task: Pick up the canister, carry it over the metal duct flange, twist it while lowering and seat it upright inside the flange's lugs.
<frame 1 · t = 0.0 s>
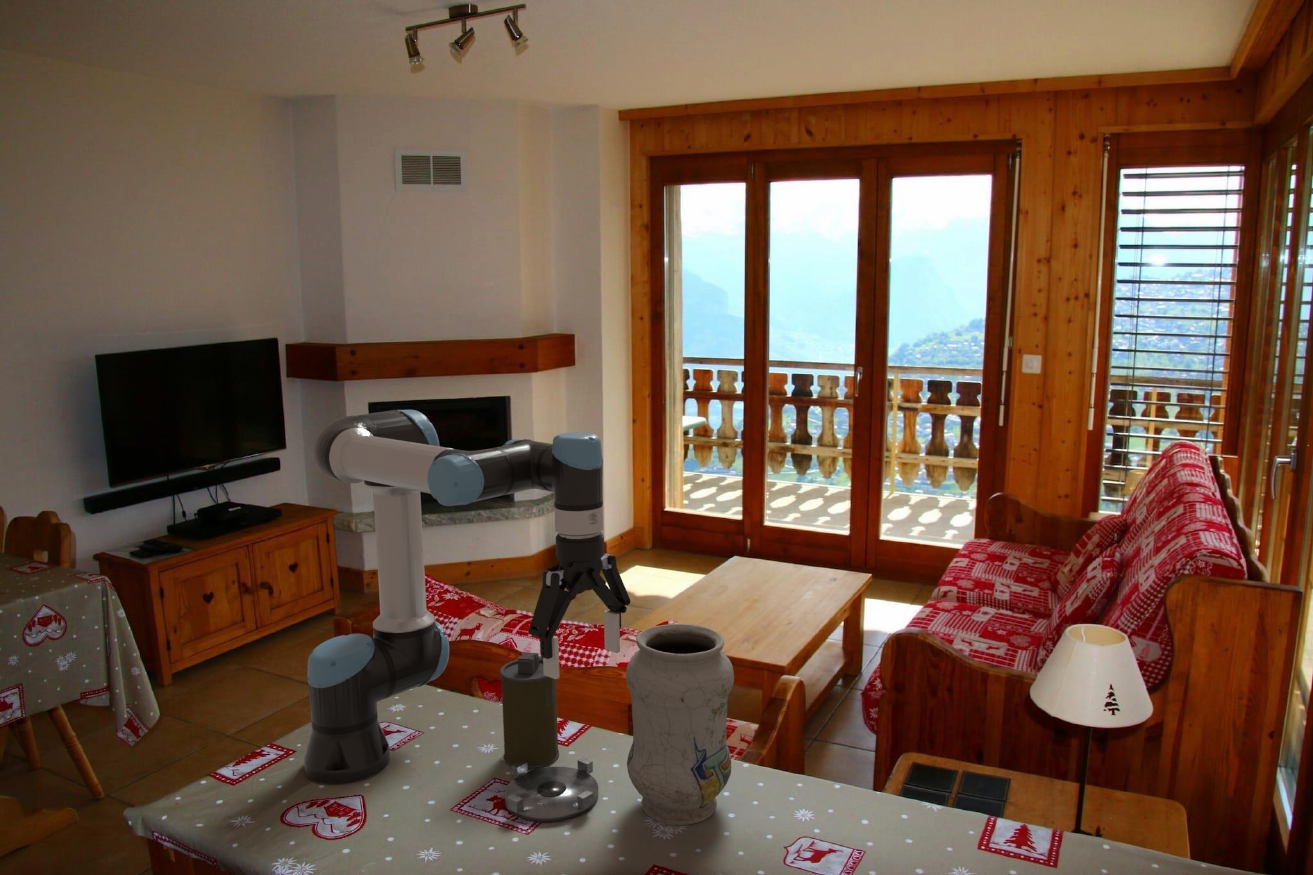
hand: (583, 663, 152), 28 cm above the table, fingers open, 13 cm apart
canister: (531, 756, 180), on the table
duct flange: (551, 797, 165), on the table
vase: (681, 807, 162), on the table
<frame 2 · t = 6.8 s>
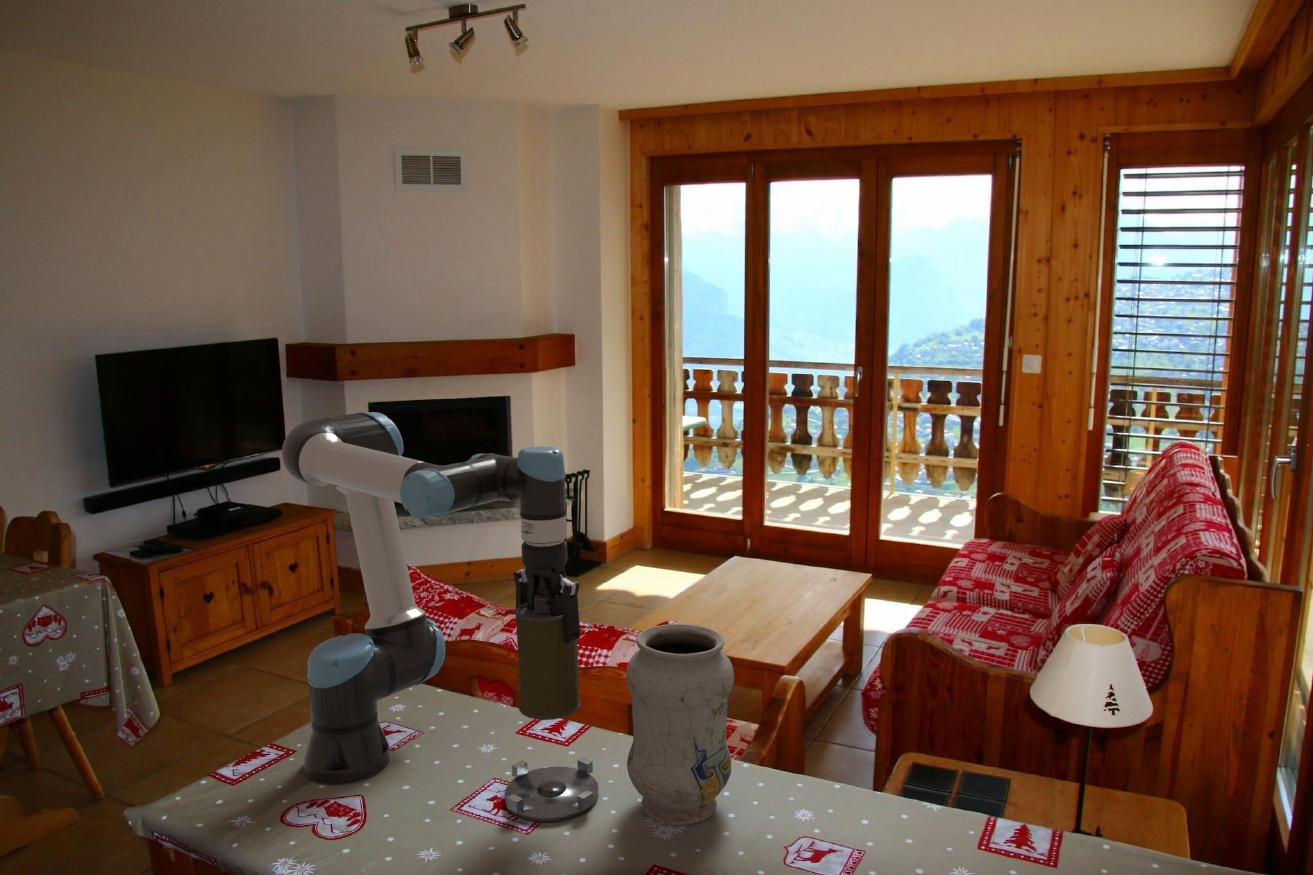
hand: (548, 673, 161), 23 cm above the table, fingers open, 6 cm apart
canister: (550, 707, 162), point 16 cm above the table, touching hand
everything else where it was.
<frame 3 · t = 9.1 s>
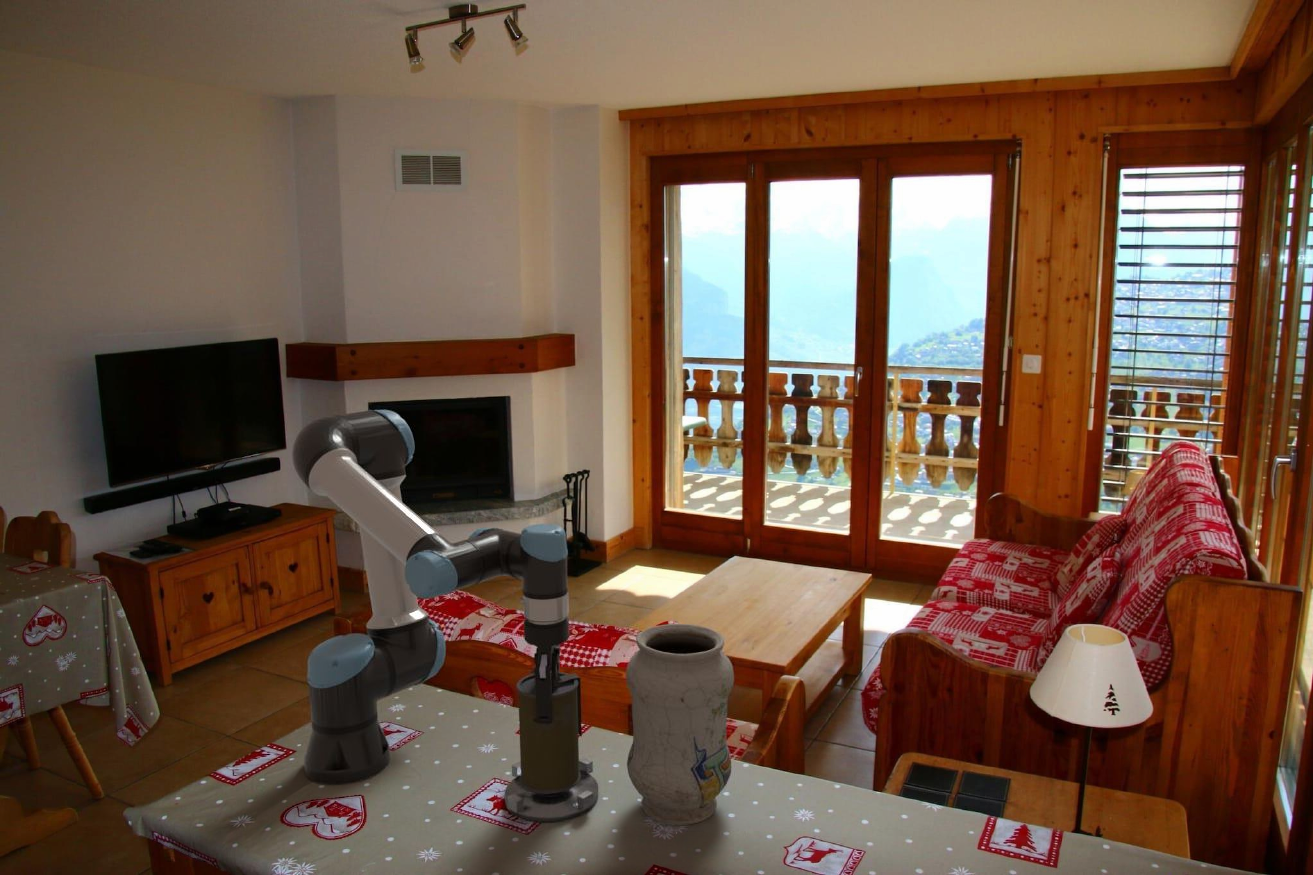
hand: (550, 746, 164), 9 cm above the table, fingers open, 6 cm apart
canister: (551, 779, 165), point 3 cm above the table, touching hand
everything else where it was.
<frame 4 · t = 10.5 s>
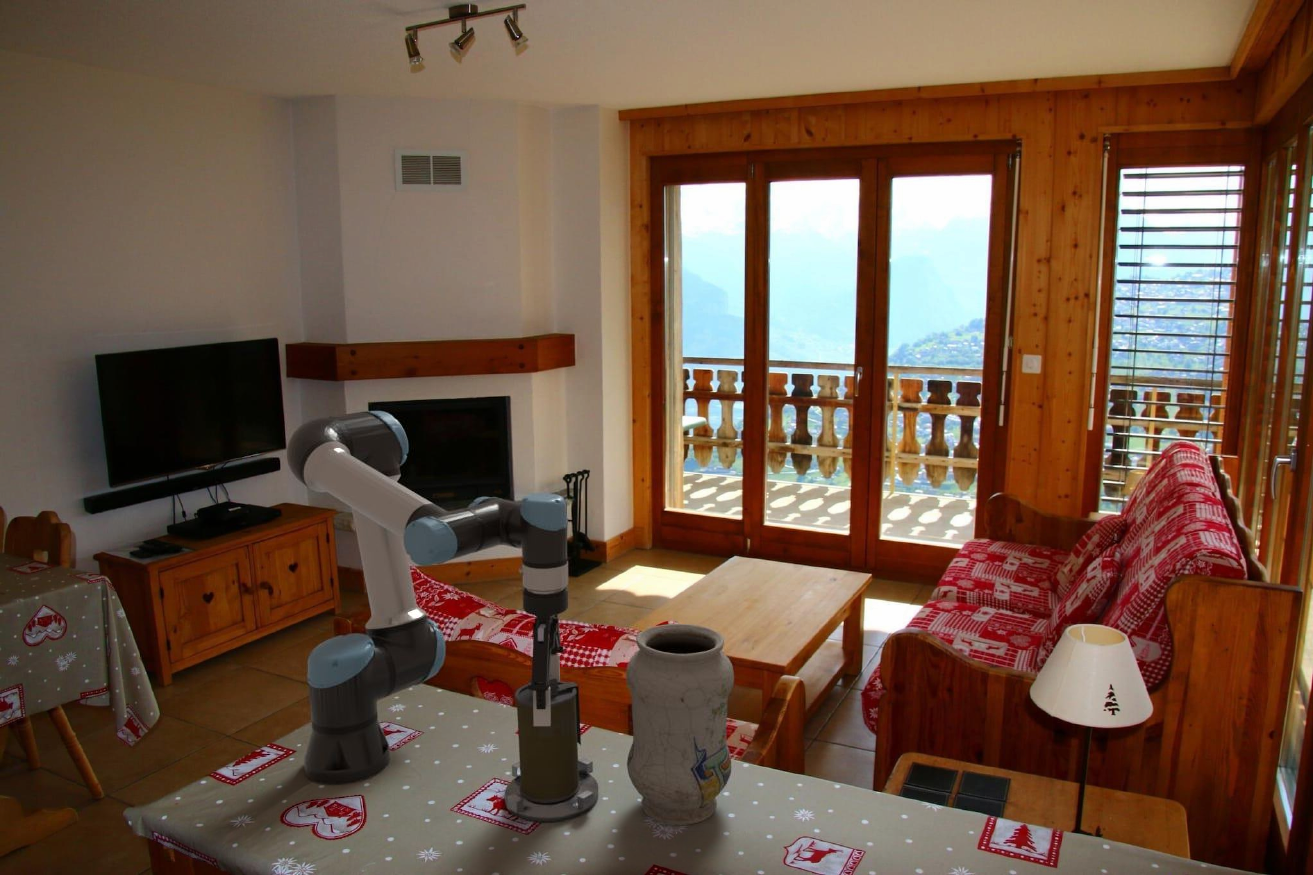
hand: (547, 707, 163), 16 cm above the table, fingers open, 13 cm apart
canister: (551, 788, 165), point 2 cm above the table, touching duct flange
everything else where it was.
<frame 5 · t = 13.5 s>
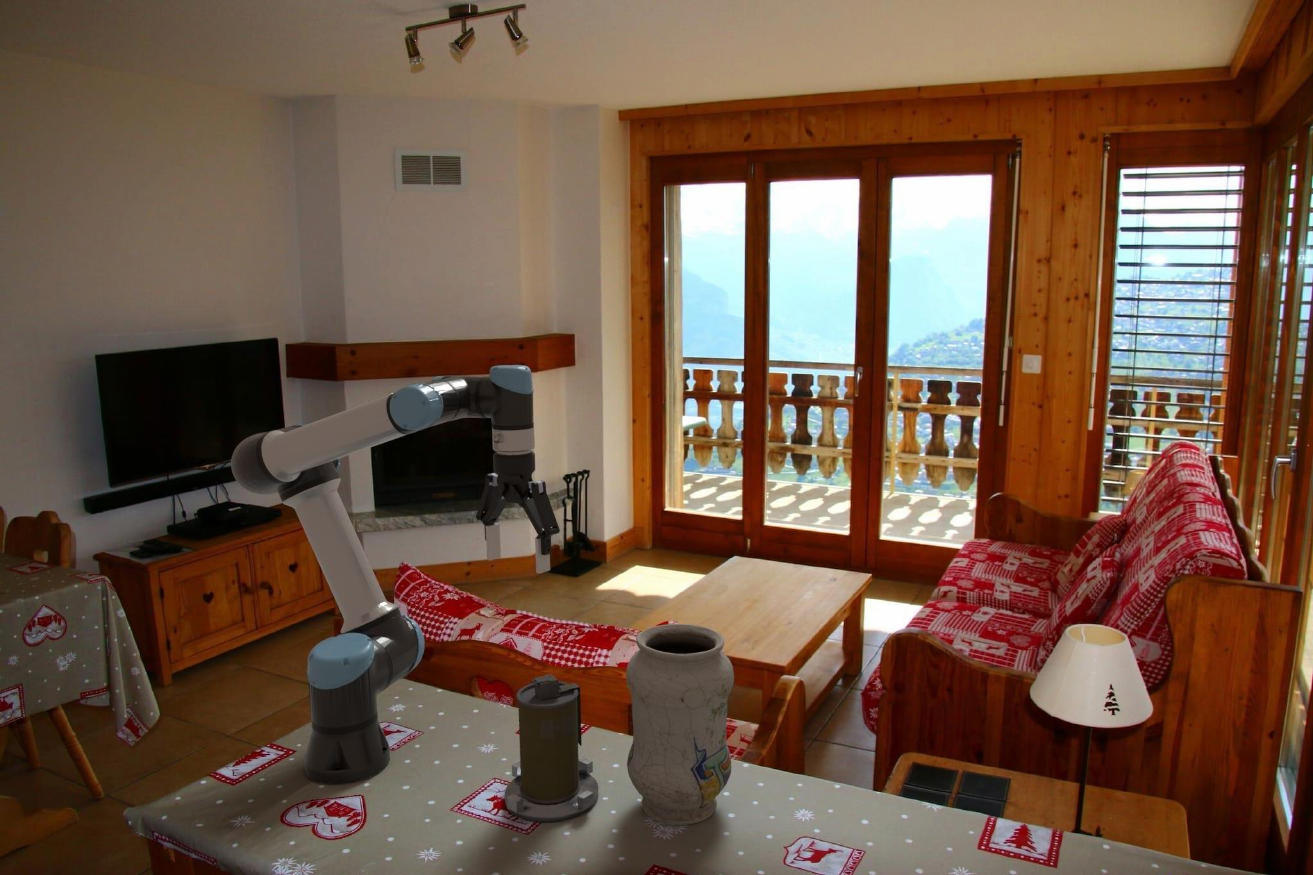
hand: (518, 565, 176), 37 cm above the table, fingers open, 13 cm apart
nothing on the table moved.
at the end: canister inside the target area on the duct flange (0.1 cm from its centre), point 1.5 cm above the duct flange's base; canister tilted 0°; the gripper is holding nothing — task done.
